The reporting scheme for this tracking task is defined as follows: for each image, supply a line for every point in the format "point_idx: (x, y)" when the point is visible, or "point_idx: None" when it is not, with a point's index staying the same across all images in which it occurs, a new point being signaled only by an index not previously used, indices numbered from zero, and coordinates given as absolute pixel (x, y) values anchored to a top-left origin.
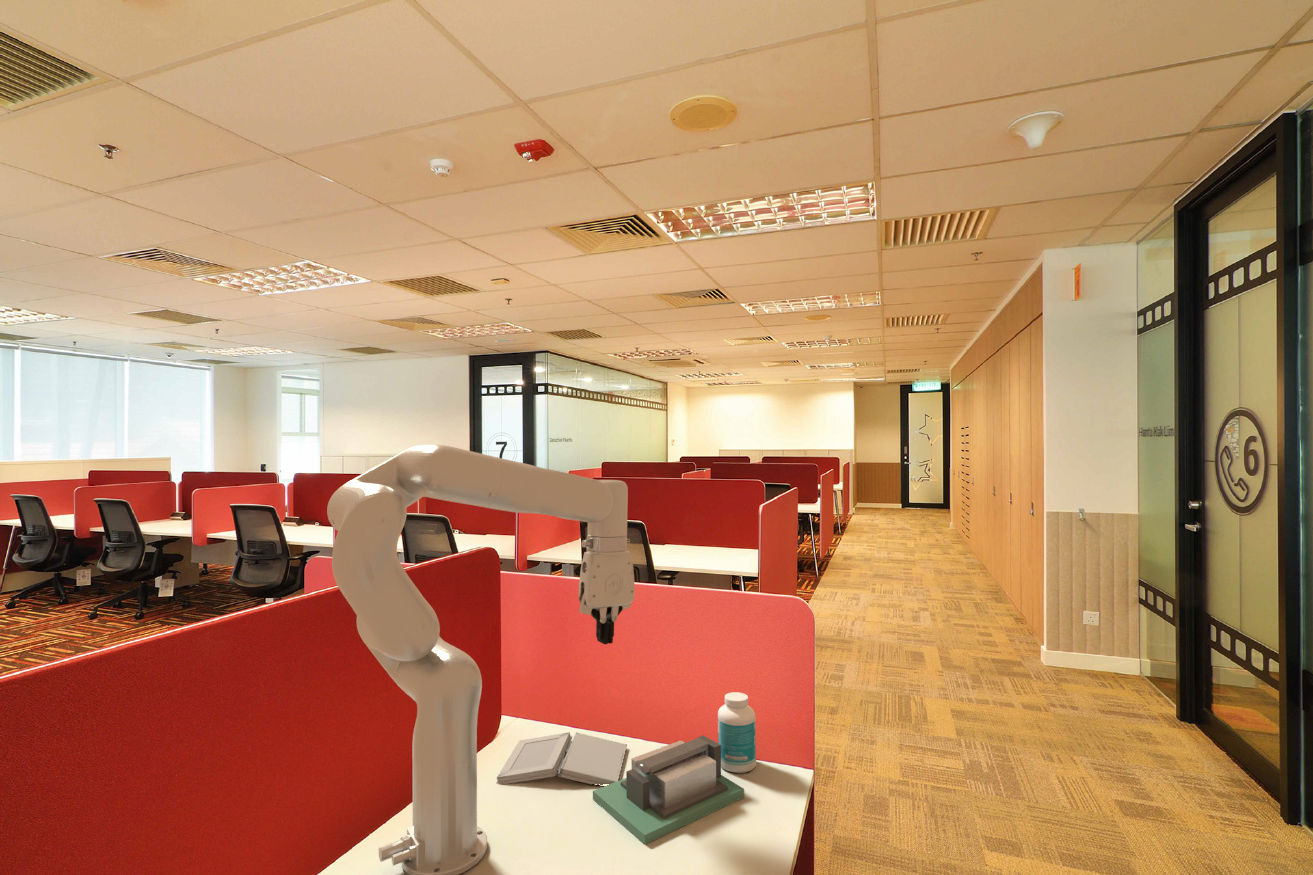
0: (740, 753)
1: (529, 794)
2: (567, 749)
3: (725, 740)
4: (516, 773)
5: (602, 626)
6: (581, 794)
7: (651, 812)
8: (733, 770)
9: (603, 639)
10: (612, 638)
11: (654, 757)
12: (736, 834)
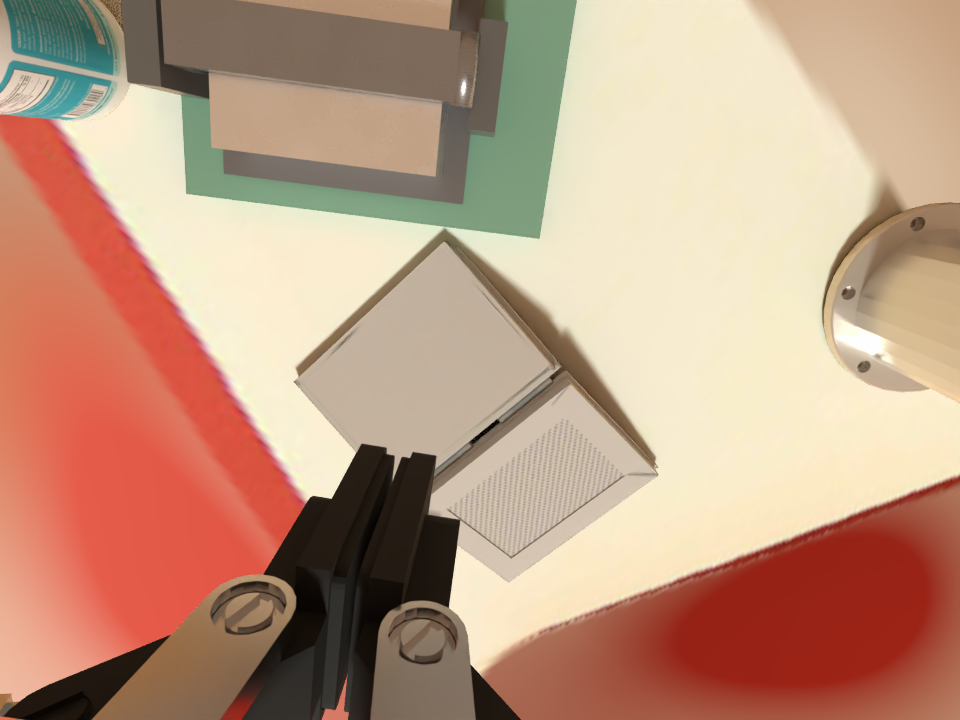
0: None
1: (634, 370)
2: (461, 451)
3: (61, 28)
4: (627, 448)
5: (422, 593)
6: (542, 277)
7: (493, 14)
8: (115, 20)
9: (428, 501)
10: (357, 460)
11: (398, 76)
12: None
